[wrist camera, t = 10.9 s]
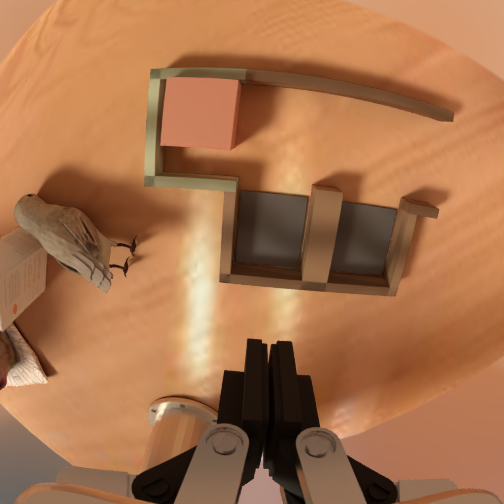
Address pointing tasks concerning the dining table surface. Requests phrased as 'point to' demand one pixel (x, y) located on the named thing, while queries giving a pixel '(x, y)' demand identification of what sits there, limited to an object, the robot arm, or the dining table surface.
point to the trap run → (298, 205)
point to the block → (200, 112)
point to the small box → (20, 273)
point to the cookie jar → (18, 360)
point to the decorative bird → (70, 239)
